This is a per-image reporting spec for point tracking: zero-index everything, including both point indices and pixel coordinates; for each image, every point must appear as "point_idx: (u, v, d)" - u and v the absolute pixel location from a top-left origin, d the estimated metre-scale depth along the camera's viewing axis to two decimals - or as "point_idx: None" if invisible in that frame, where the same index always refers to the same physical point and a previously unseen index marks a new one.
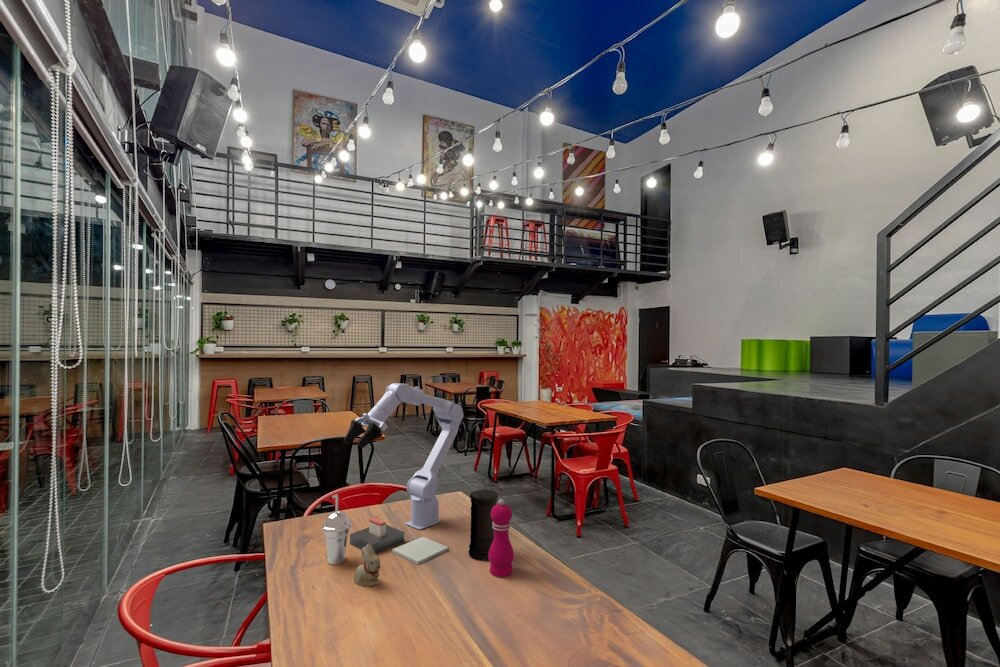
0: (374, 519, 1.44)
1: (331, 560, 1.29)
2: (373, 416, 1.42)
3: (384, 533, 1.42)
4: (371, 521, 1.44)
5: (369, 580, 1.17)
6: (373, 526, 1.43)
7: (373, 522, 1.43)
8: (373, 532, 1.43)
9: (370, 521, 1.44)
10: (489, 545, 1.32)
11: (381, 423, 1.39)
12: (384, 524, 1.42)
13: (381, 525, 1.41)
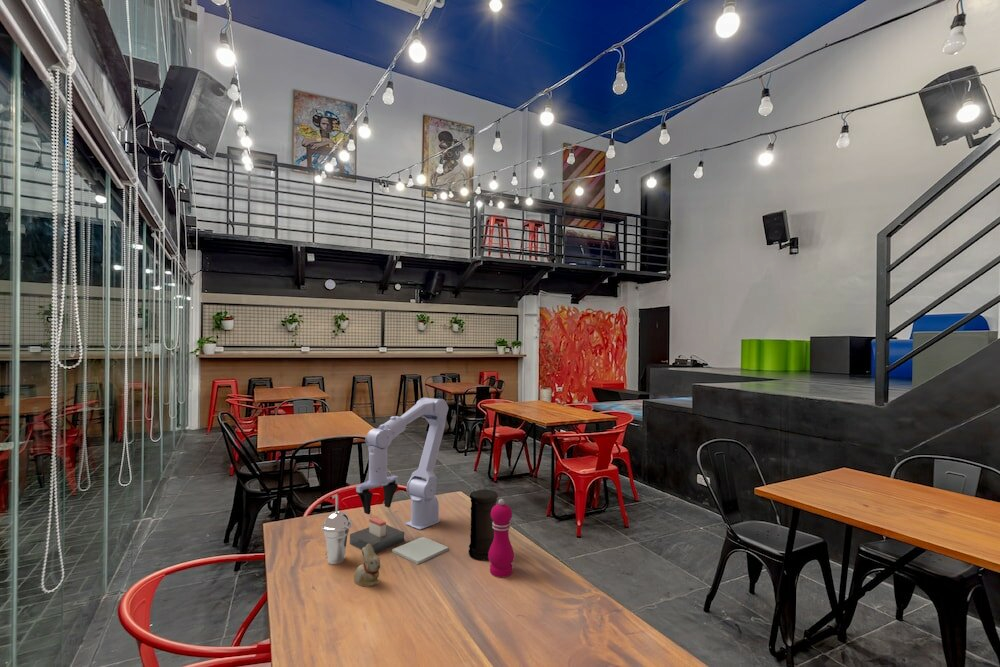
0: (374, 519, 1.44)
1: (331, 560, 1.29)
2: (386, 478, 1.44)
3: (384, 533, 1.42)
4: (371, 521, 1.44)
5: (369, 580, 1.17)
6: (373, 526, 1.43)
7: (373, 522, 1.43)
8: (373, 532, 1.43)
9: (370, 521, 1.44)
10: (489, 545, 1.32)
11: (396, 478, 1.48)
12: (384, 524, 1.42)
13: (381, 525, 1.41)
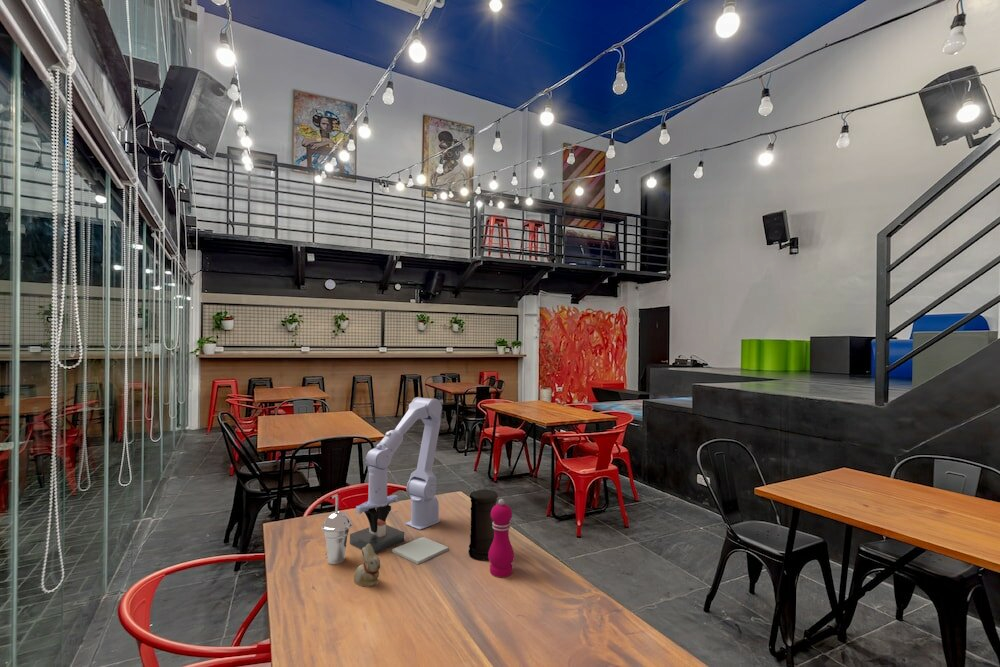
0: None
1: (331, 560, 1.29)
2: (386, 499, 1.44)
3: (384, 533, 1.42)
4: None
5: (369, 580, 1.17)
6: None
7: None
8: (373, 532, 1.43)
9: None
10: (489, 545, 1.32)
11: (396, 498, 1.48)
12: (384, 524, 1.42)
13: (381, 525, 1.41)
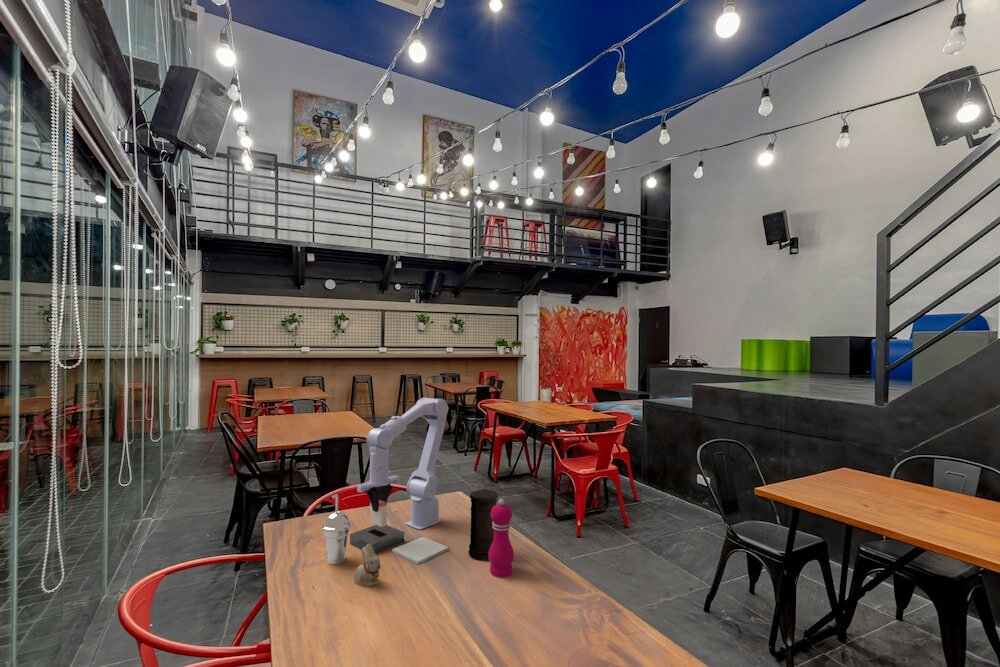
0: None
1: (331, 560, 1.29)
2: (388, 478, 1.44)
3: (385, 514, 1.42)
4: None
5: (369, 580, 1.17)
6: None
7: None
8: (374, 513, 1.43)
9: None
10: (489, 545, 1.32)
11: (397, 478, 1.48)
12: (385, 504, 1.42)
13: (382, 505, 1.41)
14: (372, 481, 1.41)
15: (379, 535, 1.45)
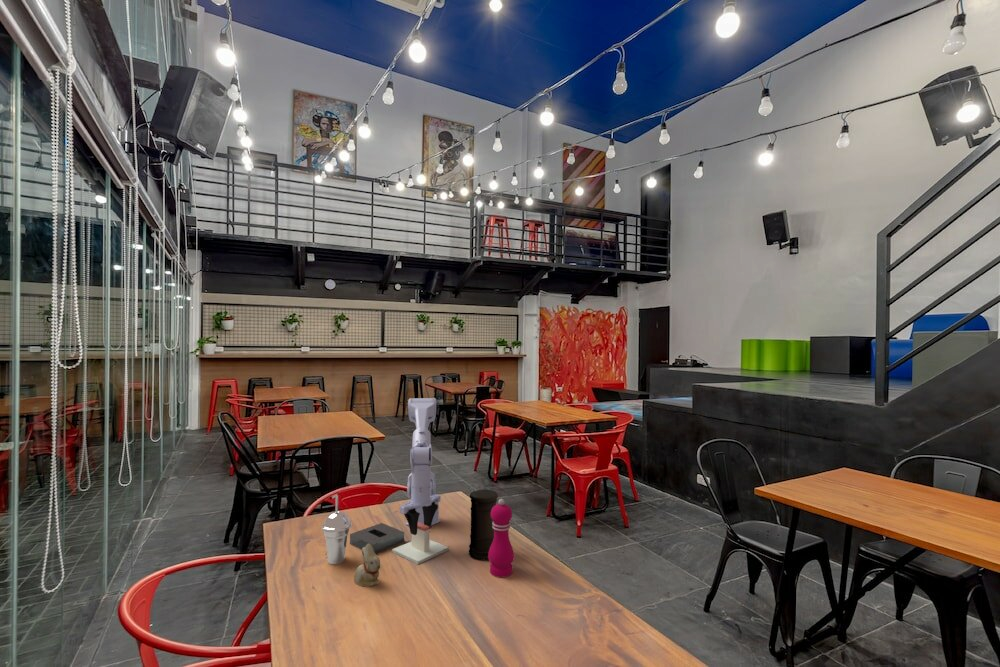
0: None
1: (331, 560, 1.29)
2: (430, 498, 1.38)
3: (428, 538, 1.36)
4: None
5: (369, 580, 1.17)
6: (417, 531, 1.37)
7: None
8: (416, 537, 1.37)
9: None
10: (489, 545, 1.32)
11: (438, 498, 1.42)
12: (428, 529, 1.36)
13: (425, 530, 1.35)
14: (414, 501, 1.35)
15: (379, 535, 1.45)
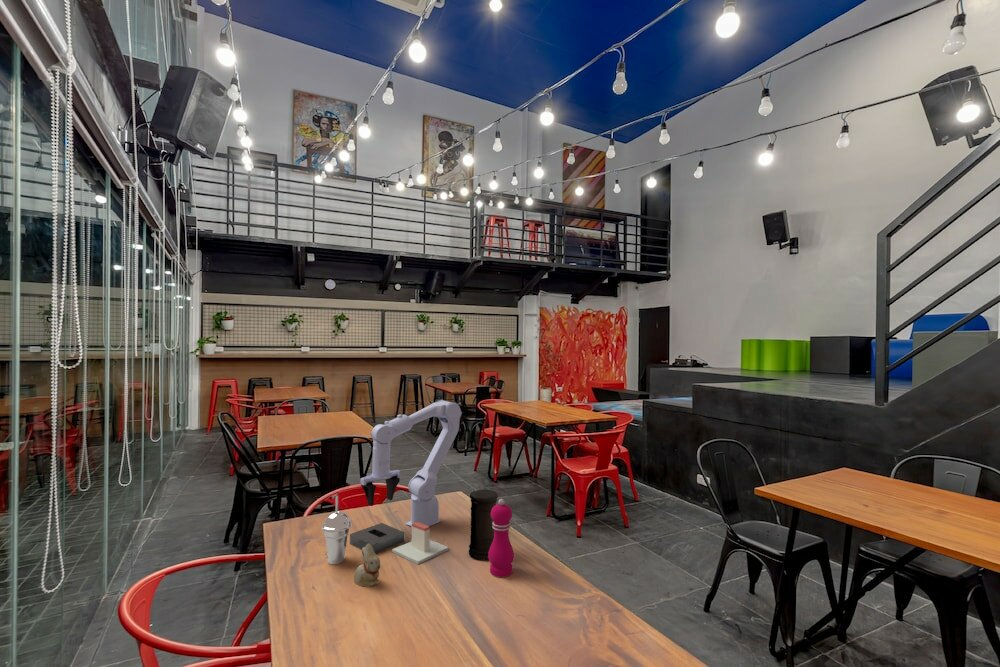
0: (417, 523, 1.39)
1: (331, 560, 1.29)
2: (389, 472, 1.51)
3: (428, 538, 1.36)
4: (414, 525, 1.38)
5: (369, 580, 1.17)
6: (417, 531, 1.37)
7: (416, 527, 1.37)
8: (416, 537, 1.37)
9: (413, 525, 1.38)
10: (489, 545, 1.32)
11: (398, 473, 1.55)
12: (428, 529, 1.36)
13: (425, 530, 1.35)
14: (374, 474, 1.48)
15: (379, 535, 1.45)
